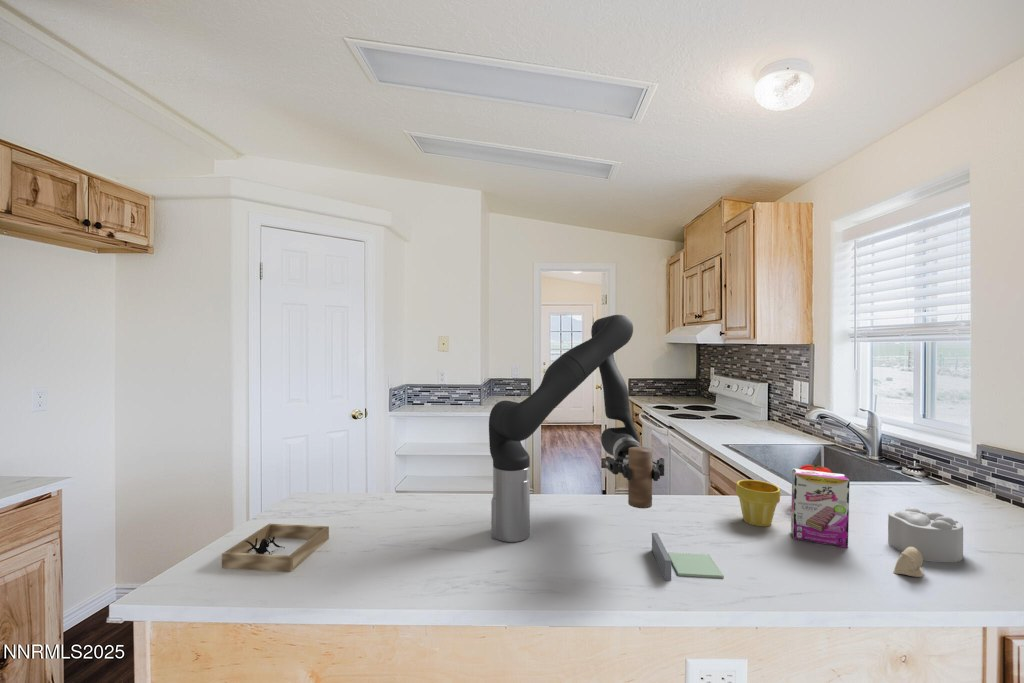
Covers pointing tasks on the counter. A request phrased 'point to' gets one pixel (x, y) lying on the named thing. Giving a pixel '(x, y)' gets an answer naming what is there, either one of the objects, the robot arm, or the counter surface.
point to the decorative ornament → (909, 563)
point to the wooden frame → (244, 560)
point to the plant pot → (757, 501)
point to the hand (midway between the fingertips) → (642, 475)
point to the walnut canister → (640, 477)
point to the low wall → (661, 556)
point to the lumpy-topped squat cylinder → (926, 534)
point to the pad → (695, 565)
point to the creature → (263, 545)
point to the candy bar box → (820, 507)
